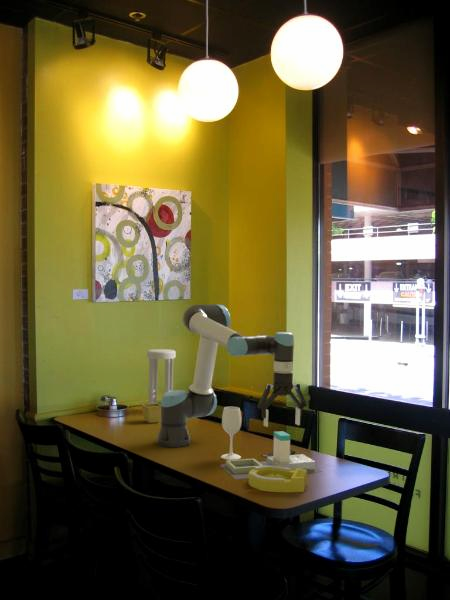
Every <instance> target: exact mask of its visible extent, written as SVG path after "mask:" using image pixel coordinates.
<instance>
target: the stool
mask: <svg viewBox="0 0 450 600" xmlns="http://www.w3.org/2000/svg"><path fill="white" fill-rule="evenodd" d="M176 353H177V351H176V350H174V349H169V348H167V349H165V348H159V349H158V348H157V349H155V348H154V349H153V348H152V349H149V350H147V352H146V358H148V395H147V396H148V397H147V398H148V401H147V402H148V403H147V404H154V403H158V382H159V381H158V378H159V377H158V375H159V373H158V372H159V371H158V370H159V365H158V364H159V360H164V392H163V394H165V393H166V392H169V391H174V359H175V358H176V357H177V356H176Z"/></svg>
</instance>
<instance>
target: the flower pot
mask: <svg viewBox="0 0 450 600" xmlns="http://www.w3.org/2000/svg"><path fill="white" fill-rule="evenodd" d="M141 406H142V407H141V409H142V414H143V419H144V420H145V422H147V423H148V424H154V423H156V422H157V423H159V422H161V403H158V402H157V403H154V404H148V403H145V404H141ZM157 423H156V424H157Z"/></svg>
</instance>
